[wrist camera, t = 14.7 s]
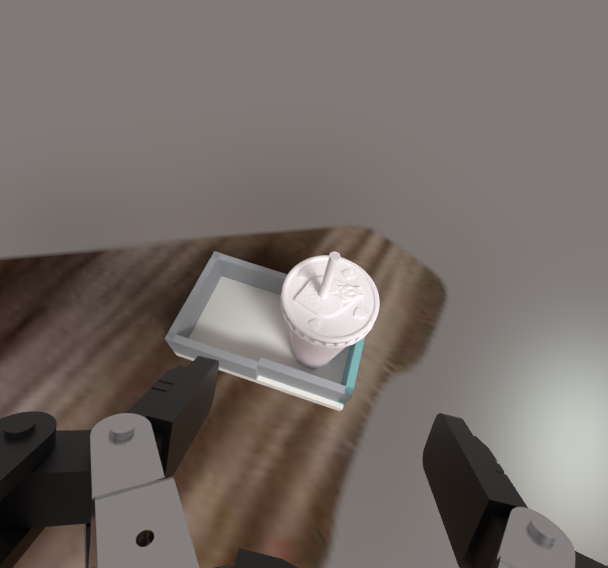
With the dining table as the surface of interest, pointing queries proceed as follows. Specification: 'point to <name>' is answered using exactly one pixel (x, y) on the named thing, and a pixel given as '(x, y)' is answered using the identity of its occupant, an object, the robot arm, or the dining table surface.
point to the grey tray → (255, 333)
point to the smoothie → (327, 307)
